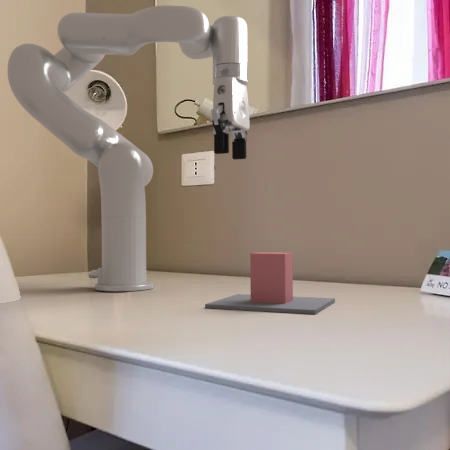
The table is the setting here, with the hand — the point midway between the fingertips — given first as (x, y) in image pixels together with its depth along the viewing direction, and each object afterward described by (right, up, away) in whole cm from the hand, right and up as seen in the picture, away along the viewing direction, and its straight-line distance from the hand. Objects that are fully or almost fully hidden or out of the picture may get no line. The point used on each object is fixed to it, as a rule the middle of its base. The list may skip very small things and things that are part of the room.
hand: (230, 156), depth 114 cm
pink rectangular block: (+6, -27, -26) cm, 38 cm away
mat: (+7, -28, -26) cm, 39 cm away
